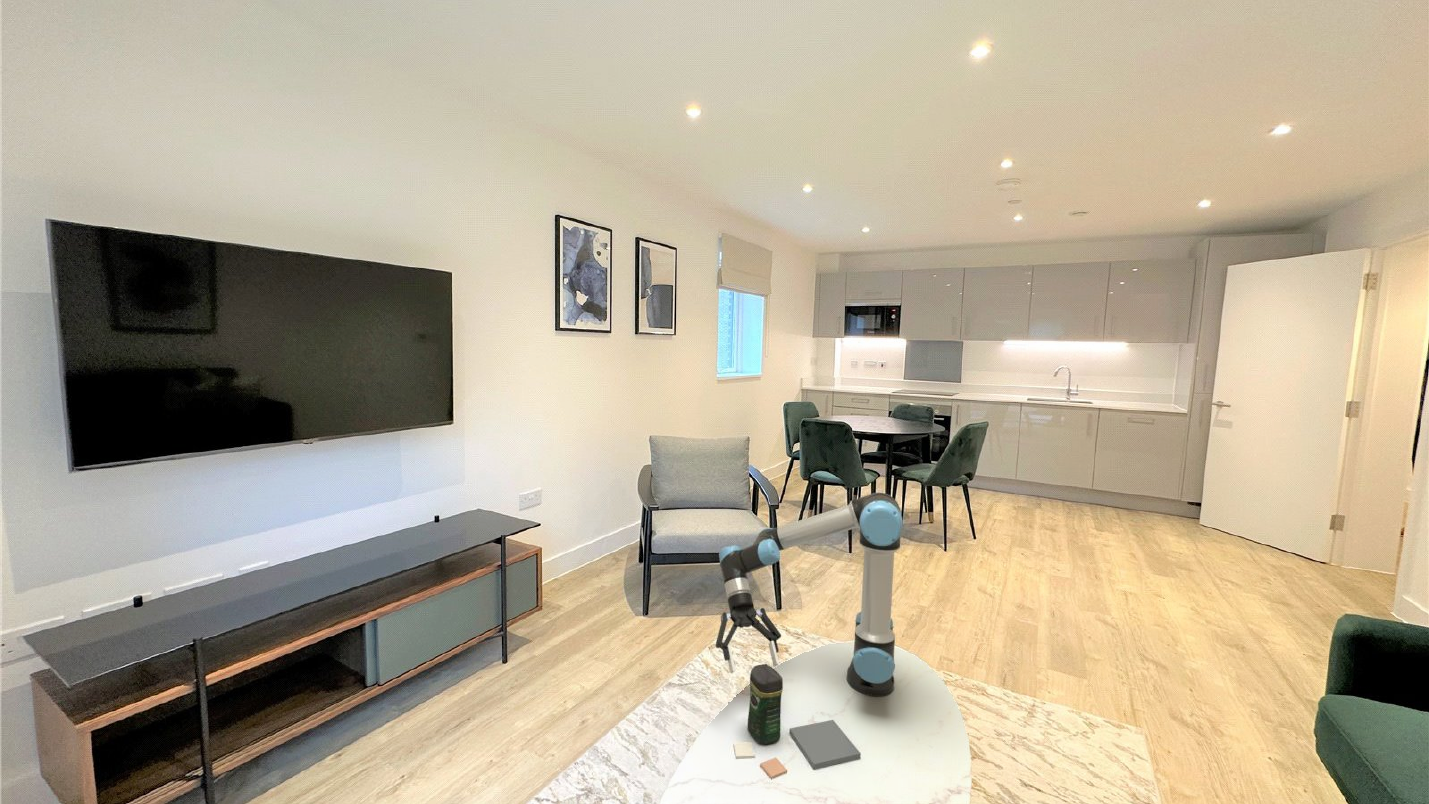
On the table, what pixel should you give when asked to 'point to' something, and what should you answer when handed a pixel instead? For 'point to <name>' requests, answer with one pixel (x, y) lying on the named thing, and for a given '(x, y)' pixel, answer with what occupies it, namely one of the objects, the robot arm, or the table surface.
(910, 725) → the table surface
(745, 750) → the tile
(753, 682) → the coffee jar
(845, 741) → the slate plate
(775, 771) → the tile
